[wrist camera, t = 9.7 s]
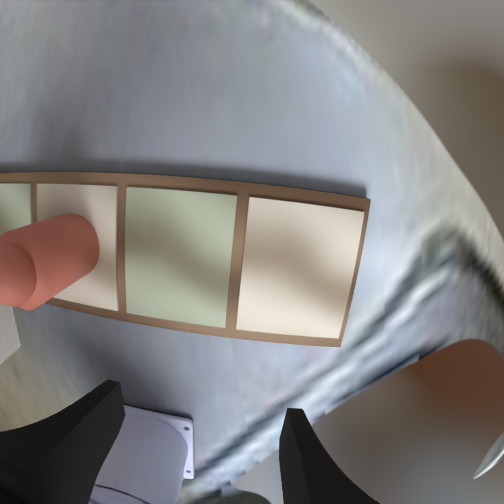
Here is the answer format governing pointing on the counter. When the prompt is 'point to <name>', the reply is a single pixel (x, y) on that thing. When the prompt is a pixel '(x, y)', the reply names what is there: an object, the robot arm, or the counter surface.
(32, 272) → the pawn
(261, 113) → the counter surface
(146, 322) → the board
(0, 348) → the die
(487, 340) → the counter surface
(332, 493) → the robot arm
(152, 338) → the counter surface
